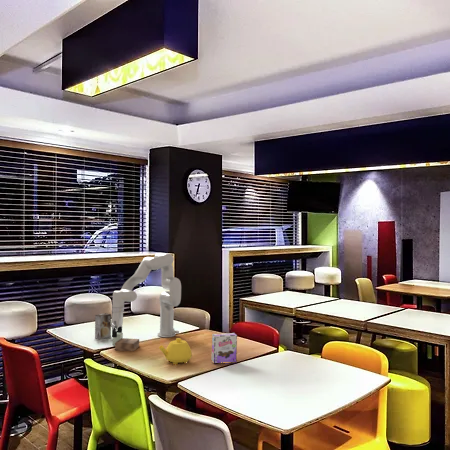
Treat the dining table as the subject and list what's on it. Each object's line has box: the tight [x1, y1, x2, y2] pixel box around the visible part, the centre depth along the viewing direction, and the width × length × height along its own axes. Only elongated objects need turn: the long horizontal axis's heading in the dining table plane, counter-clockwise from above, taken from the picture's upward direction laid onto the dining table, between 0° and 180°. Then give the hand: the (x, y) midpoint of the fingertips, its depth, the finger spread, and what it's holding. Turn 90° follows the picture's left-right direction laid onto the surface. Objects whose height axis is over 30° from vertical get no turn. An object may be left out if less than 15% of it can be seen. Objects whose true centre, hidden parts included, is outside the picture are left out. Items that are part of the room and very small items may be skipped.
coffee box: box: [94, 312, 112, 340], centre depth 318 cm, size 9×6×16 cm
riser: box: [114, 337, 140, 352], centre depth 291 cm, size 12×12×5 cm
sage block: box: [112, 332, 124, 346], centre depth 301 cm, size 5×5×7 cm
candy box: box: [210, 332, 238, 363], centre depth 266 cm, size 14×6×16 cm, turn 105°
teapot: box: [158, 337, 193, 365], centre depth 263 cm, size 20×16×14 cm
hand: (116, 335), depth 300 cm, fingers open, 9 cm apart
